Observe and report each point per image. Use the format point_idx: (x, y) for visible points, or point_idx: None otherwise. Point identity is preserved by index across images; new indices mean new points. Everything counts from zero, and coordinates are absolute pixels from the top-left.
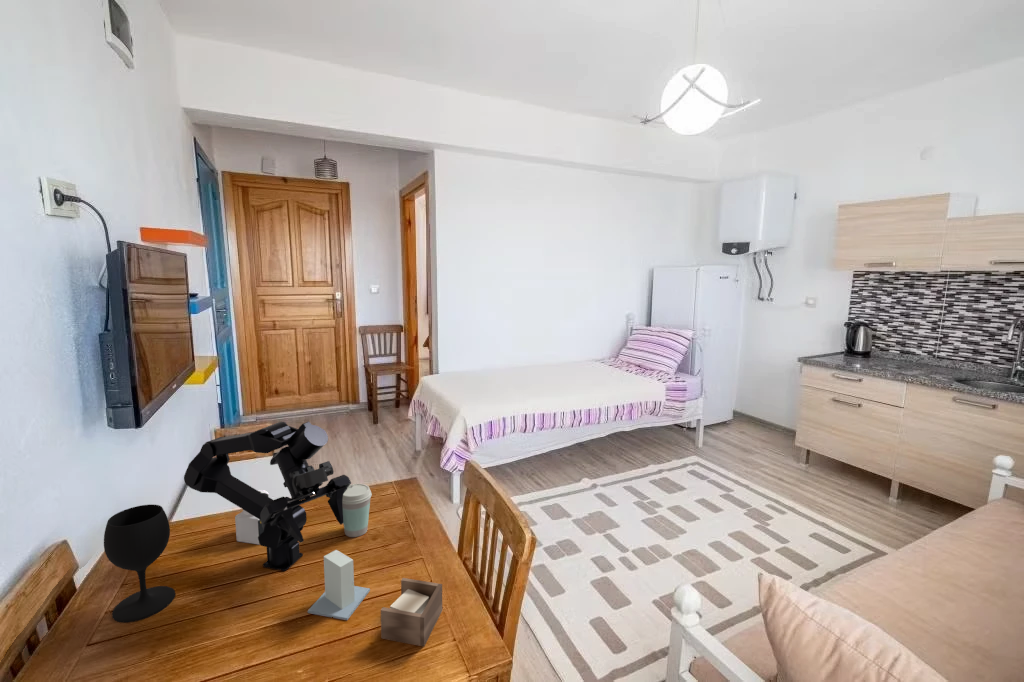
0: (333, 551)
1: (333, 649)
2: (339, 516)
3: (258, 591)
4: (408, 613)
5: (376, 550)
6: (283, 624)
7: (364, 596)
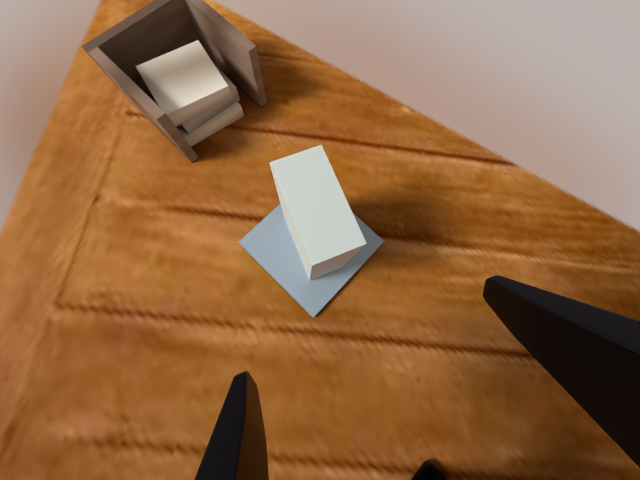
0: (325, 257)
1: (349, 123)
2: (246, 421)
3: (490, 393)
4: (205, 7)
5: (153, 427)
6: (431, 234)
7: (258, 224)
